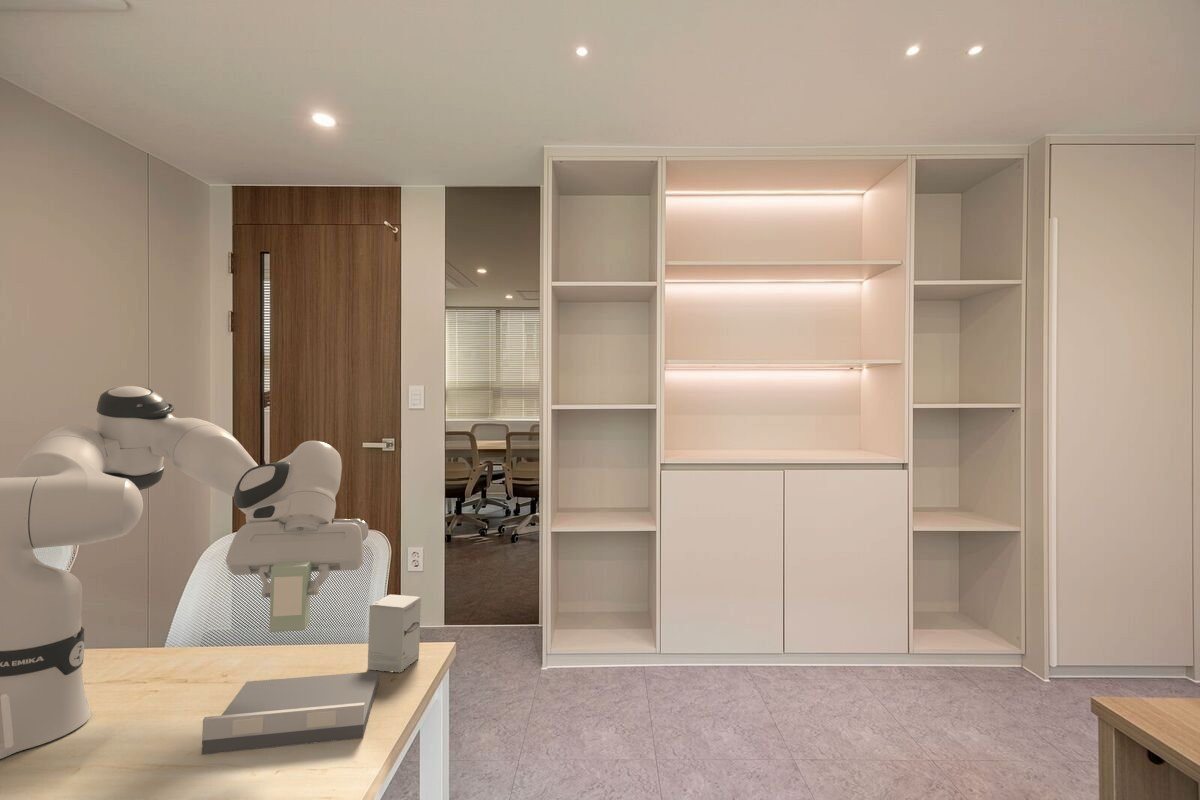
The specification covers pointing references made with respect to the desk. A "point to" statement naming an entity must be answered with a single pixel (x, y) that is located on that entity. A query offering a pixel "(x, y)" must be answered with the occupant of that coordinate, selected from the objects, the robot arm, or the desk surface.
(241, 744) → the shelf board
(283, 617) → the sage carton
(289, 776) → the desk surface
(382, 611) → the supplement box
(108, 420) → the robot arm
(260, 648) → the desk surface
